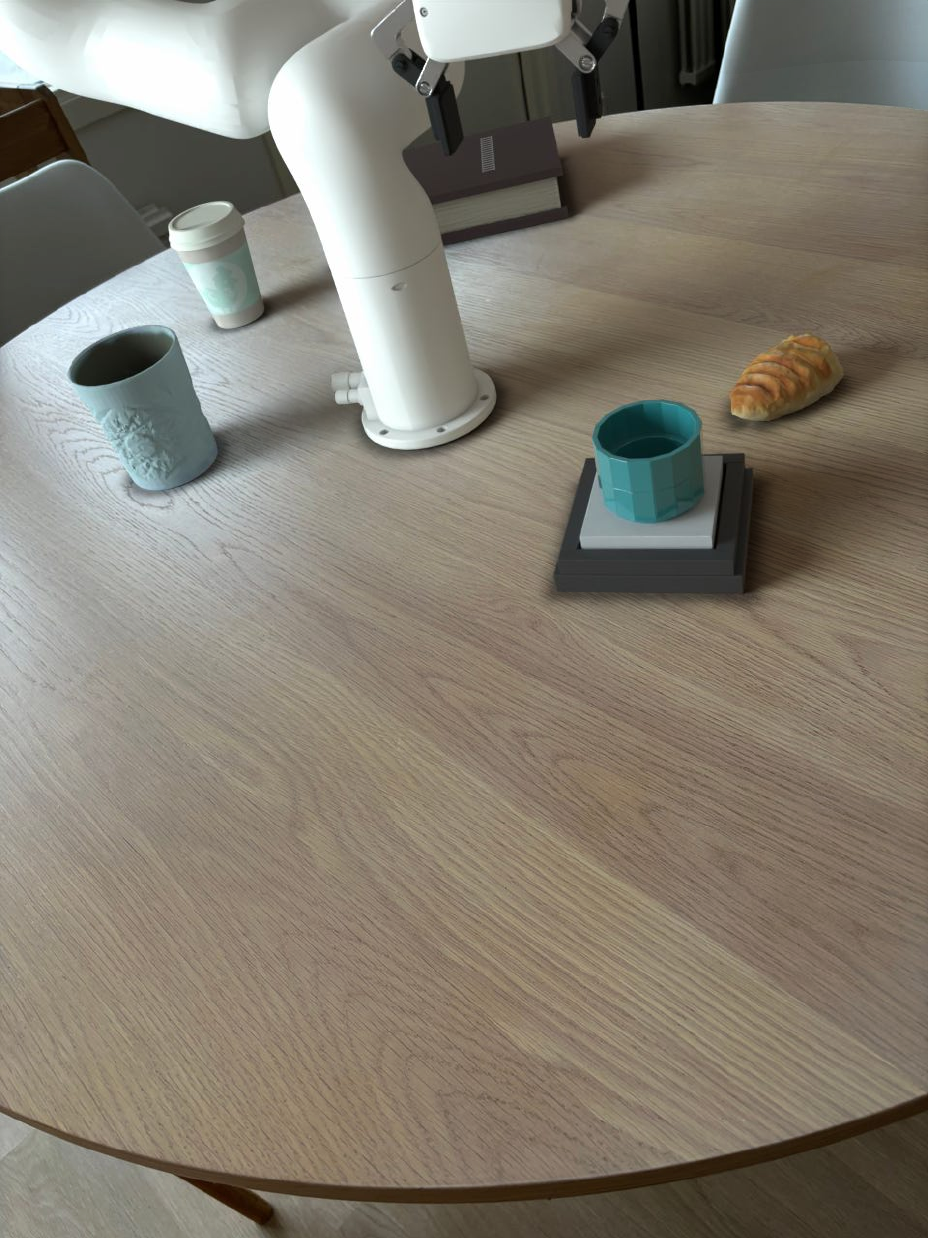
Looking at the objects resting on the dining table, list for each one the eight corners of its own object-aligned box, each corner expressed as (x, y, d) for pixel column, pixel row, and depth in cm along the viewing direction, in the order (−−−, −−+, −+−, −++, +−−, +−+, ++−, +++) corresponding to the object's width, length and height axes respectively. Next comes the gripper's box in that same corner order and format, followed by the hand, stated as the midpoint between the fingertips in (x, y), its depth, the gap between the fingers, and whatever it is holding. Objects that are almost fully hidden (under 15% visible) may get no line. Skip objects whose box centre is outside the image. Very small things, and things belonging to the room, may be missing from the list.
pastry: (774, 438, 80) (773, 396, 77) (708, 413, 84) (705, 373, 82) (849, 382, 83) (851, 340, 80) (782, 360, 87) (781, 320, 85)
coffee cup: (192, 335, 117) (148, 235, 109) (229, 298, 123) (190, 200, 115) (252, 335, 114) (211, 232, 106) (288, 297, 119) (252, 196, 111)
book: (556, 157, 132) (549, 110, 128) (569, 217, 118) (561, 166, 114) (350, 205, 136) (337, 160, 132) (338, 268, 122) (323, 220, 118)
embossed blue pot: (192, 423, 102) (141, 315, 94) (247, 451, 96) (197, 337, 88) (107, 477, 98) (46, 369, 90) (159, 510, 92) (99, 396, 84)
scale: (555, 591, 72) (549, 560, 70) (583, 488, 80) (578, 457, 78) (743, 594, 68) (742, 561, 66) (753, 484, 76) (752, 451, 74)
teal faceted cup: (595, 528, 70) (584, 463, 67) (610, 466, 75) (601, 401, 72) (701, 527, 68) (695, 460, 64) (710, 463, 73) (705, 396, 69)
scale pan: (582, 553, 71) (579, 536, 70) (602, 475, 77) (599, 458, 76) (713, 553, 68) (712, 536, 67) (723, 472, 74) (722, 455, 73)
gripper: (625, -210, 58) (651, 102, 70) (353, -144, 64) (418, 135, 76) (605, -187, 53) (637, 145, 65) (311, -117, 59) (389, 177, 71)
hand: (519, 139), depth 70 cm, fingers open, 9 cm apart
